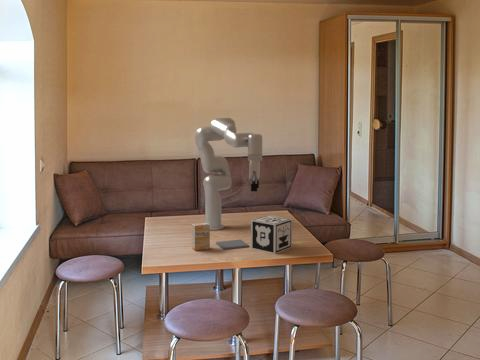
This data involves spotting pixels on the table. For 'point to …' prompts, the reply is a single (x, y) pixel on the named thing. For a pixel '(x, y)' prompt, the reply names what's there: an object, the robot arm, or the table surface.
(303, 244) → the table surface
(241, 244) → the rubber mat
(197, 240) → the supplement box
